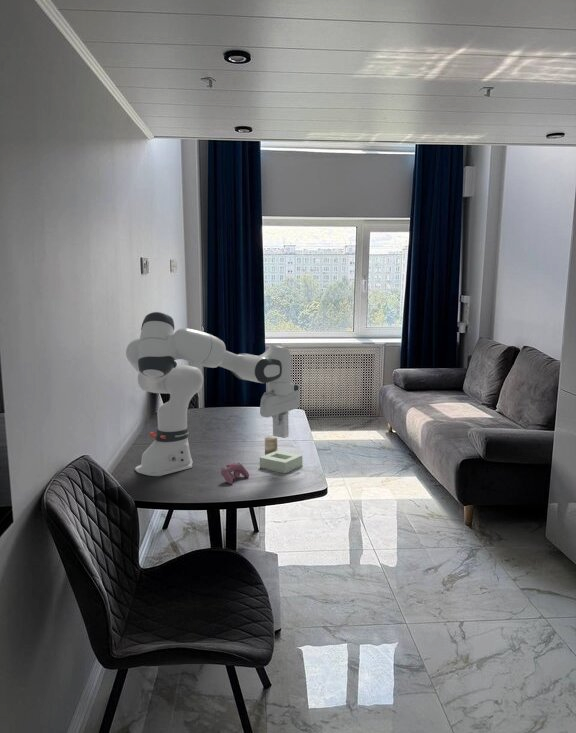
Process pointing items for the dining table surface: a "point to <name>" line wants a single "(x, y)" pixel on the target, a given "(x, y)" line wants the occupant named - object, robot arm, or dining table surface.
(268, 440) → the round beech peg
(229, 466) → the video game controller
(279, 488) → the dining table surface
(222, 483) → the dining table surface
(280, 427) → the grey rectangular block
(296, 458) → the slot block
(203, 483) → the dining table surface
